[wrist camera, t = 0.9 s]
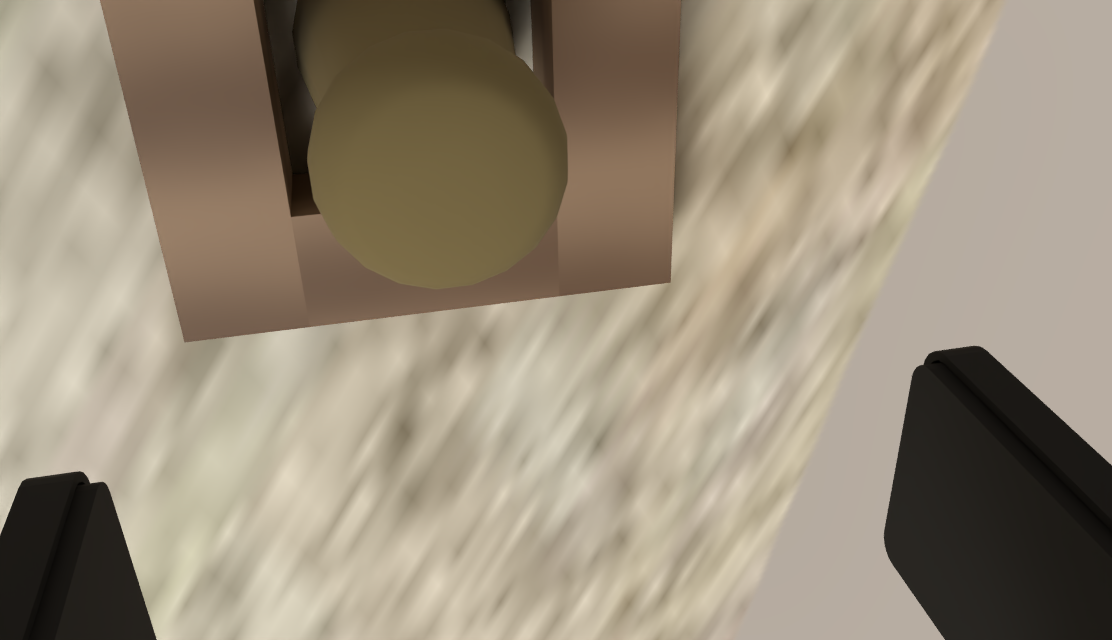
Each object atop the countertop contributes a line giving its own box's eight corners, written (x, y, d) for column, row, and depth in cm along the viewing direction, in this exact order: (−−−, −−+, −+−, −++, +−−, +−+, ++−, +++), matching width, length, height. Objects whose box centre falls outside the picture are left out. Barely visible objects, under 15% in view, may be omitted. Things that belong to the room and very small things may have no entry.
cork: (419, 183, 31) (466, 385, 21) (246, 53, 28) (214, 222, 18) (554, 28, 29) (670, 172, 20) (387, -126, 26) (429, -41, 17)
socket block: (71, -237, 24) (42, -232, 21) (653, -257, 26) (690, -255, 23) (195, 291, 31) (184, 342, 28) (643, 239, 33) (670, 282, 31)
